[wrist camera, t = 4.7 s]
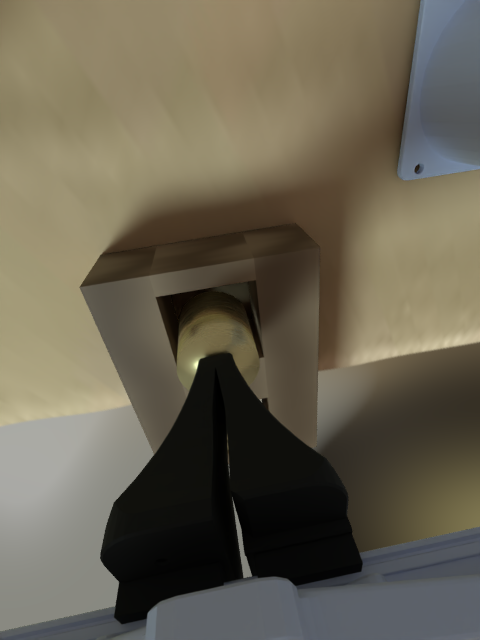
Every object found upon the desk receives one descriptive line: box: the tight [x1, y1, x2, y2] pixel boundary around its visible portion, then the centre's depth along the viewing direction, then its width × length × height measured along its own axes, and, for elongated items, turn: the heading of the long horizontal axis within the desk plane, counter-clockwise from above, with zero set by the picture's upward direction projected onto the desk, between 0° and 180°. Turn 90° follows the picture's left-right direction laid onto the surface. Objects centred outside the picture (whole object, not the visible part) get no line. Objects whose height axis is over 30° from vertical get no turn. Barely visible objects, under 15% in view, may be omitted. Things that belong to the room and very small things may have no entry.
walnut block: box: [80, 223, 320, 464], centre depth 20 cm, size 11×15×4 cm
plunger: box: [177, 291, 260, 390], centre depth 15 cm, size 4×4×4 cm
